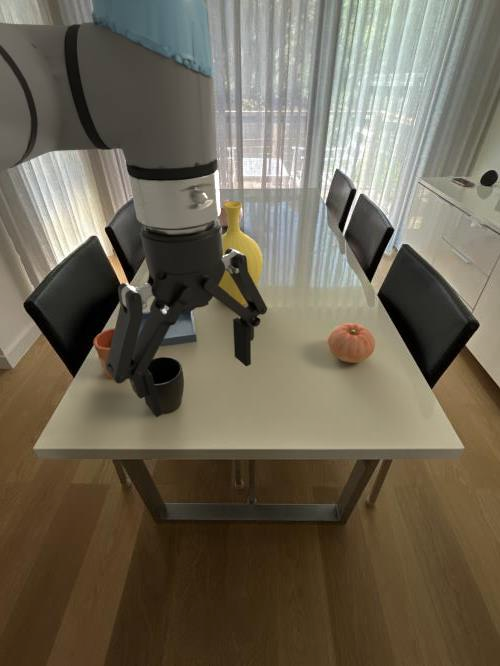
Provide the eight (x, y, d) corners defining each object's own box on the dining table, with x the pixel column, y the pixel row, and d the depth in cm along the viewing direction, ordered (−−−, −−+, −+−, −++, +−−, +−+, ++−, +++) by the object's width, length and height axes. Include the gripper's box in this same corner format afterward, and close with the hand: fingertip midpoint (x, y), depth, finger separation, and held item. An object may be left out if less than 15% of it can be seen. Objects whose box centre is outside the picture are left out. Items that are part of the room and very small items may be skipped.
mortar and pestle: (234, 220, 161) (233, 194, 154) (247, 227, 153) (247, 201, 146) (211, 224, 156) (210, 199, 149) (224, 232, 147) (223, 206, 141)
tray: (131, 350, 85) (129, 343, 83) (134, 320, 95) (132, 313, 94) (197, 341, 87) (196, 334, 86) (192, 313, 98) (192, 306, 96)
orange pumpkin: (380, 356, 82) (387, 329, 78) (353, 377, 77) (360, 350, 72) (343, 335, 89) (348, 310, 84) (316, 353, 83) (320, 327, 78)
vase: (231, 279, 114) (227, 192, 97) (271, 293, 106) (275, 201, 89) (199, 300, 103) (188, 206, 86) (241, 317, 96) (239, 218, 79)
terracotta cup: (102, 382, 76) (90, 351, 70) (106, 360, 82) (96, 330, 76) (137, 377, 77) (128, 346, 72) (139, 355, 83) (131, 326, 78)
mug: (152, 378, 77) (143, 346, 71) (195, 397, 72) (190, 364, 66) (125, 403, 71) (114, 369, 65) (170, 425, 66) (163, 391, 61)
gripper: (45, 276, 23) (121, 457, 35) (303, 203, 35) (290, 356, 48) (21, 242, 27) (95, 413, 40) (257, 188, 40) (256, 332, 53)
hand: (201, 383), depth 44 cm, fingers open, 13 cm apart
